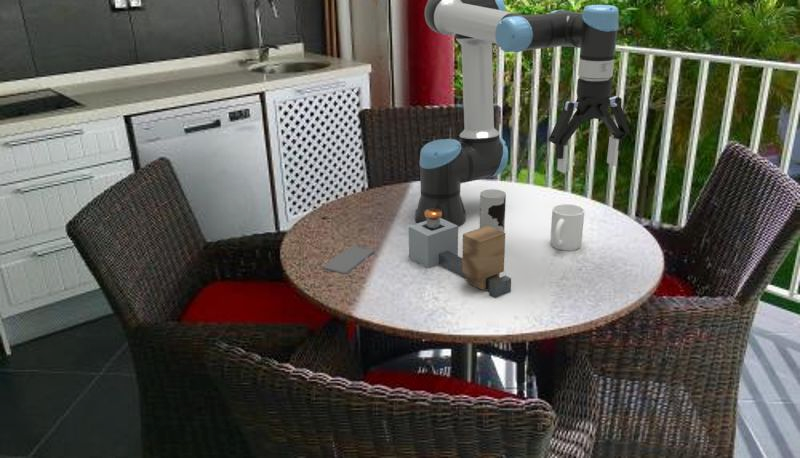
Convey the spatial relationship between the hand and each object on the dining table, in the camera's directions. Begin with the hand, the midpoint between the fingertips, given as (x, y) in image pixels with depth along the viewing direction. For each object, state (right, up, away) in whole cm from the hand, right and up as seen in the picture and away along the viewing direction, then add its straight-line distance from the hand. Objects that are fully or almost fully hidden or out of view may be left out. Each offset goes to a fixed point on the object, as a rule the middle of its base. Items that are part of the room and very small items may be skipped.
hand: (586, 168), depth 161 cm
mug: (0, -20, +22) cm, 29 cm away
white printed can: (-19, -19, +24) cm, 36 cm away
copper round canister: (-36, -16, +15) cm, 42 cm away
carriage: (-24, -28, +4) cm, 37 cm away
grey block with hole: (-35, -22, +18) cm, 45 cm away
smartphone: (-58, -23, +18) cm, 65 cm away
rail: (-27, -27, +7) cm, 38 cm away
